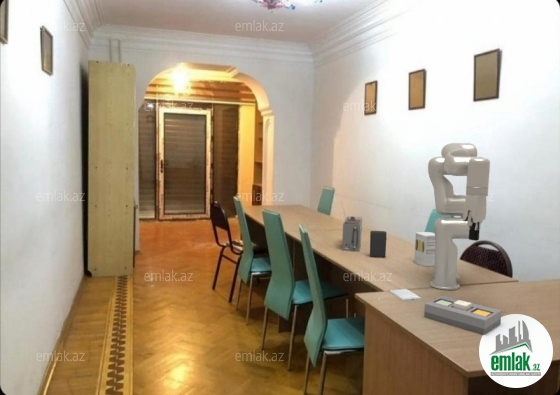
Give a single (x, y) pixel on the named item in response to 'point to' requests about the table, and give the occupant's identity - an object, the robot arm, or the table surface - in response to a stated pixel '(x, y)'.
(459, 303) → the middle key
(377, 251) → the card reader
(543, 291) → the table surface
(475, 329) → the key console
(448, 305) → the sage key
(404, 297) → the hard drive
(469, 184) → the robot arm
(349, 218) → the portable television
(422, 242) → the supplement box
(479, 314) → the amber key
